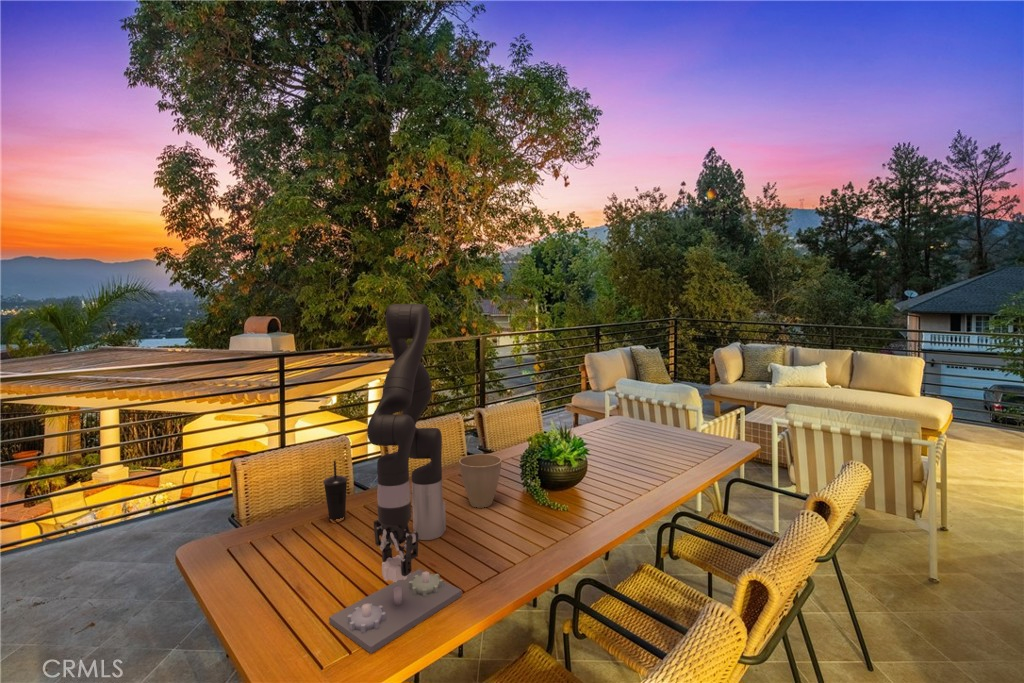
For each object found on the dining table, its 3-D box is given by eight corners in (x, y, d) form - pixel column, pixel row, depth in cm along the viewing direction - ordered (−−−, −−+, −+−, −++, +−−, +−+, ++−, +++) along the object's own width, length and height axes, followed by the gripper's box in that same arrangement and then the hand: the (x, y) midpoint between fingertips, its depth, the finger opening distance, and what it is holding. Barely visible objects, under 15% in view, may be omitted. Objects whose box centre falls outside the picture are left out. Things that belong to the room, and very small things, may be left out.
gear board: (419, 574, 134) (418, 556, 134) (461, 596, 124) (461, 576, 123) (329, 623, 114) (328, 602, 114) (371, 654, 104) (370, 630, 103)
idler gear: (399, 564, 123) (398, 552, 122) (416, 573, 119) (416, 560, 118) (376, 575, 118) (376, 563, 118) (394, 585, 114) (393, 572, 113)
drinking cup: (352, 514, 172) (349, 457, 171) (345, 524, 165) (342, 464, 163) (329, 515, 172) (326, 457, 171) (321, 525, 165) (318, 465, 163)
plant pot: (508, 508, 176) (507, 463, 174) (467, 515, 170) (466, 469, 169) (494, 493, 189) (493, 451, 188) (455, 499, 184) (454, 456, 183)
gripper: (427, 502, 115) (429, 573, 116) (388, 488, 124) (391, 553, 126) (400, 513, 109) (403, 587, 111) (362, 497, 119) (365, 566, 120)
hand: (396, 569), depth 118 cm, fingers closed on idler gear, 6 cm apart
